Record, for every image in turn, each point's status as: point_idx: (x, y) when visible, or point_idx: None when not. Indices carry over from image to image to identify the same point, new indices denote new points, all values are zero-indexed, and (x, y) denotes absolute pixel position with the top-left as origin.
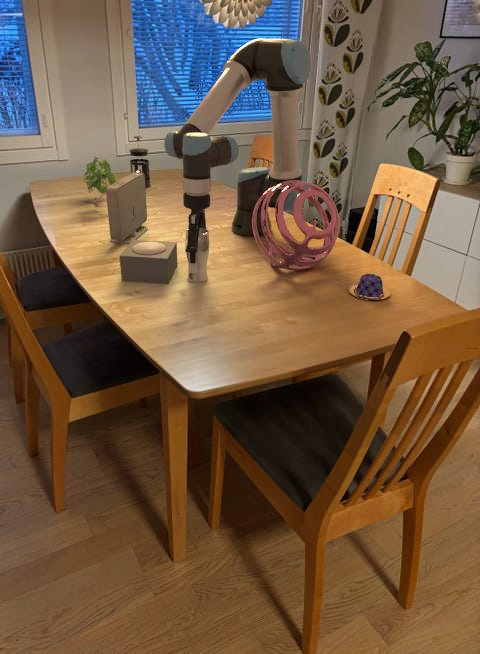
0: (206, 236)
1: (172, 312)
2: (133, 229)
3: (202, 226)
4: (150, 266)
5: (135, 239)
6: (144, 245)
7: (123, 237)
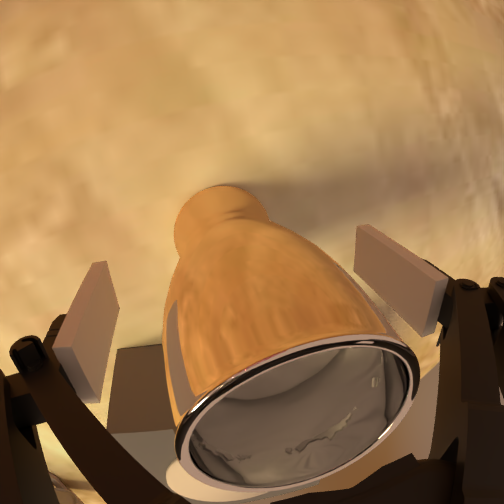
0: (367, 314)
1: (464, 234)
2: None
3: (128, 453)
4: None
5: None
6: (220, 489)
7: (62, 493)
